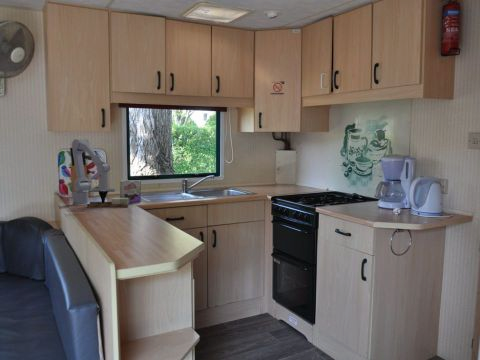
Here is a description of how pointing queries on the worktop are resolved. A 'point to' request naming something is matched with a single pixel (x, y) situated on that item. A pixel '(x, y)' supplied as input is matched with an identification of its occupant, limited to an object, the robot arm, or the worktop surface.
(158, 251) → the worktop surface
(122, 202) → the sage block
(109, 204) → the walnut chute
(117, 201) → the white block
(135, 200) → the candy box
